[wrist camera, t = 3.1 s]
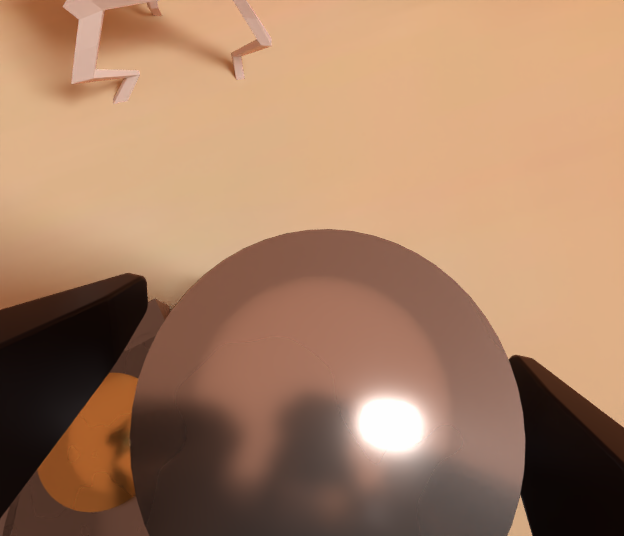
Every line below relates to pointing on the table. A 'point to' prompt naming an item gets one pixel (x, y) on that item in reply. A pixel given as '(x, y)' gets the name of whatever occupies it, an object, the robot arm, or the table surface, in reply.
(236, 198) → the table surface
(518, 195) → the table surface
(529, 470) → the robot arm
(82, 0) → the origami figure
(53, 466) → the sprocket plate
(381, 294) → the drive pin
